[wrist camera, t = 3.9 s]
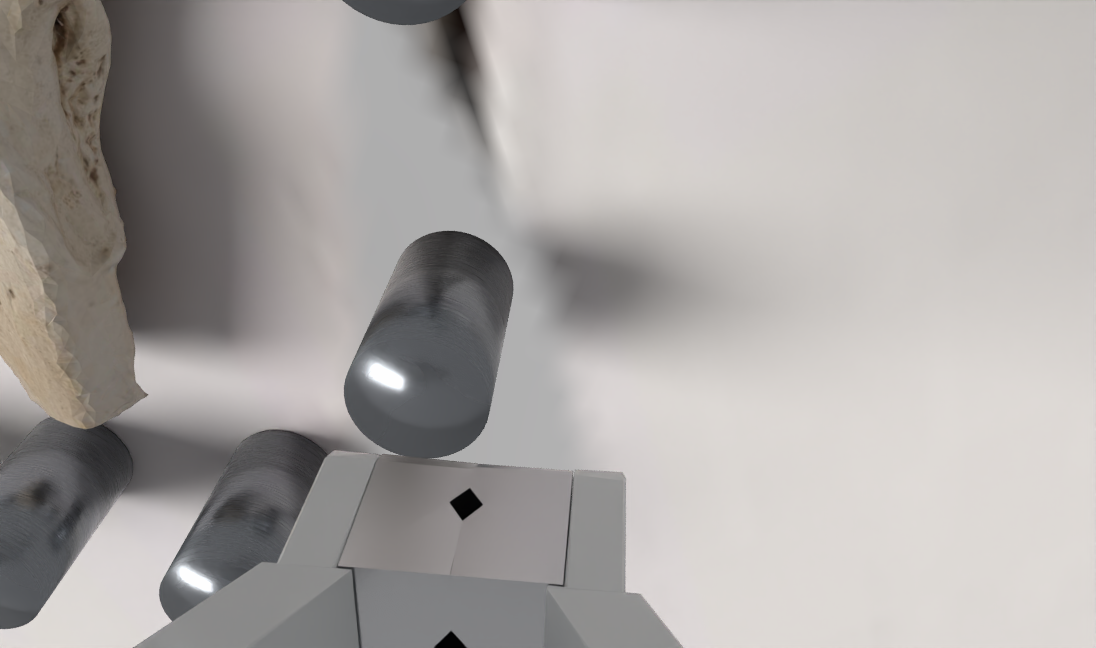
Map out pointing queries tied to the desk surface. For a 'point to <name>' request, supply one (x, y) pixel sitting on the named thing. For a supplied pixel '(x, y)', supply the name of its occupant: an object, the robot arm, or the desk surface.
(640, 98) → the desk surface
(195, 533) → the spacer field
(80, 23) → the bone fragment
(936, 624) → the desk surface
